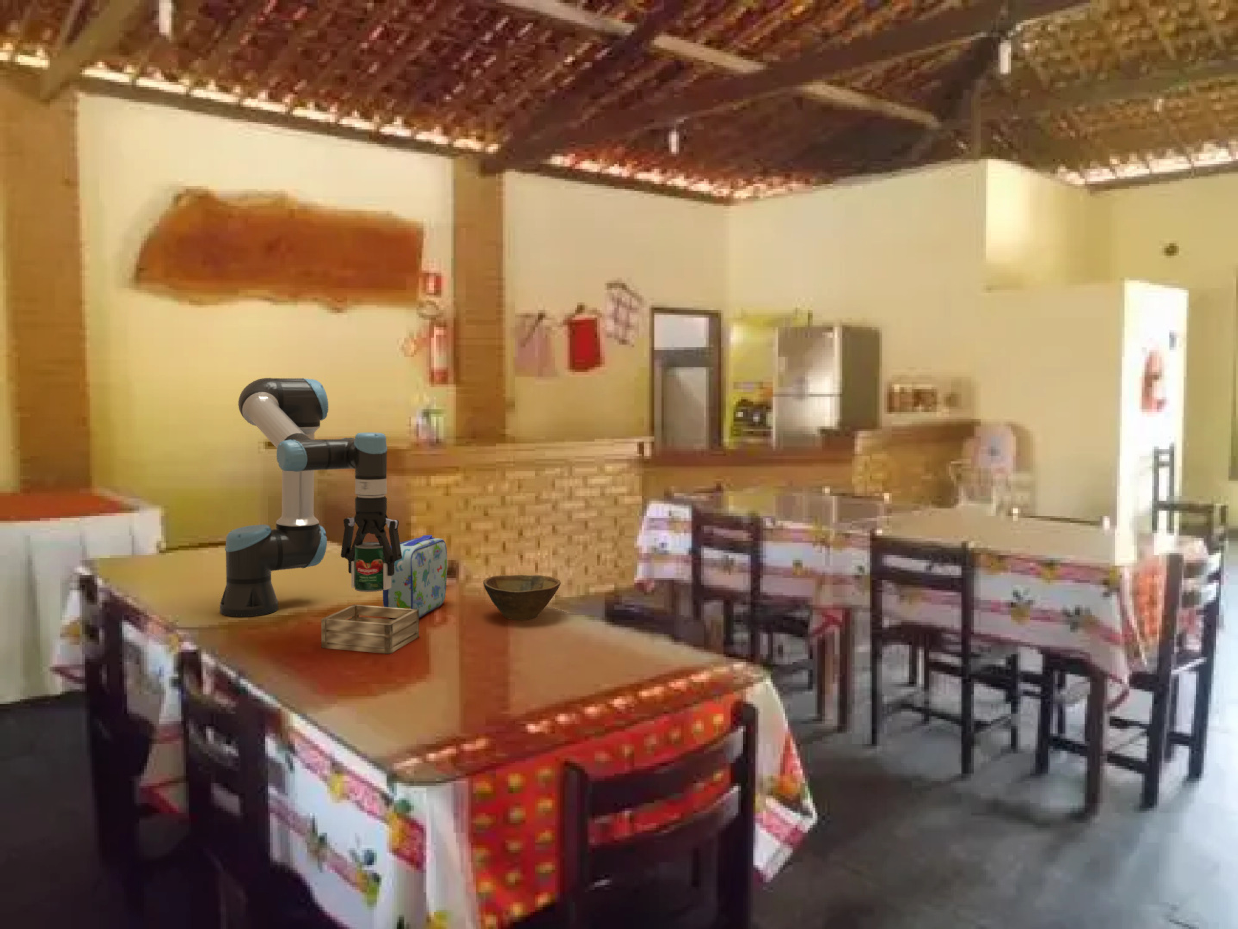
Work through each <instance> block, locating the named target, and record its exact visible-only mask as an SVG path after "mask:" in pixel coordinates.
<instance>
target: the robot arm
mask: <svg viewBox="0 0 1238 929" xmlns="http://www.w3.org/2000/svg"><path fill="white" fill-rule="evenodd" d="M328 400H329V399H328V395H327V392H326V390H325V388H324V386H323V384H322V383H321V382H320V381H318V380H317V379H313V378H304V377H302V378H301V377H300V378H299V377H297V378H296V377H295V378H292V377H291V378H285V377H283V378H282V377H281V378H279V377H278V378H277V377H264V378H258V379H255V380H253V381H252V382H250V383H248V384H247V385H246V386H245V387H244V388H243V389H242V391H241V393H240V395H239V397H238V401H237V402H238V403H237V405H238V410H239V413H240V415H241V416H242V418H243V419H244V420H245V421H246V422H247V423H248V424H250V425H252V426H255V427H257V429H259V431H260V432H261V433H262V434H263V435H264V436H265V437H266V438H267V439H268V441H270V443H271V444H272V445H273V446H274V447H275V448H276V461H277V463H278V466H279V469H280V470H281V516H280V518H278V519H277V520H276V521H275V524H276V525H275V528H274V529H272V528H271V525H268V524H253V525H247V526H242V527H237V528H235V529H232V530H231V531H230V532H228V533H227V535H226V539H225V547H224V550H225V570H226V572H225V576H226V578H225V579H226V581H225V583H226V584H225V587H224V591H223V593H222V597H221V600H220V603H219V613H220V614H221V615H224V616H227V617H240V618H241V617H242V618H244V617H259V616H263V615H268V614H271V613H275V612H276V611H278V610H279V600H278V597H277V595H276V591H275V589H274V586H273V583H272V572H275V571H283V570H293V569H306V568H309V567H316V566H317V565H319V564H320V563H321V562H322V561H323V559H324V557H325V555H326V551H327V547H328V537H327V536H326V535H327V532H326V530H325V527H323V526H322V525H320V521H319V519H318V518H317V517H315V514H314V510H315V507H314V506H315V504H314V503H315V501H314V499H315V494H314V493H315V471H324V470H325V471H327V470H328V471H329V470H347V469H349V470H354V487H355V488H354V492H355V493H354V494H355V495H356V496H355V498H354V502H355V503H354V510H355V515H354V517H346V518H344V519H343V526H344V527H343V528H344V530H343V538H342V543H341V544H342V545H341V550H340V557H341V558H342V559H343V558H344V559H346V560H347V562H348V566H347V568H348V573H349V574H351V581H350V582H351V588H353V589H355V545H356V546H358V545H361V544H362V543H364V540H365V538H366V536H367V534H371V535H374V537H375V538H376V539H377V542H379V544H380V546H383V554H384V557H385V559H386V562H385V563H383V590H387V589H389V588H391V576H392V575H394V563H395V561H397V560H400V559H402V553H401V547H400V543H401V542H400V536H399V529H398V528H399V525H400V521H399V520H398V519H390V518H388V515H387V510H388V501H387V500H388V497H387V496H386V495H387V494H388V488H387V487H388V482H387V479H388V478H387V474H388V473H387V472H388V470H387V469H388V467H387V466H388V464H387V463H388V462H387V460H388V458H387V457H388V446H387V444H388V443H387V436H386V434H384V433H382V432H358V433H356V434H355V436H354V437H344V438H335V439H334V438H333V439H332V438H331V439H315V432H317V431H318V430H319V428H321V421H323V420H325V419H326V418H327V417H328V413H329V401H328ZM355 525H357V527H358V528H357V531H356V533H355V538H354V541H353V536H354V531H355V528H354V527H355ZM386 525H387V528H388V536H389V539H388V536H387V532H386V529H385V527H386ZM390 546H391V547H390ZM383 590H382V591H383Z"/></svg>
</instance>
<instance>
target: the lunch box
mask: <svg viewBox="0 0 1238 929" xmlns="http://www.w3.org/2000/svg"><path fill="white" fill-rule="evenodd" d="M390 547H391V545H390ZM400 547H401V553H402V559H400V560H397V561H395V563H394V575H392V576H391V588H389V589H387V590H382V604H383V607H392V608H404V609H417V610H419V619H420V618H421V617H423V616H425V615H427V614H428V613H430V612H432V611H434V610H435V609H436V608H439V607H441V606H442V605H443V603H444V602H445V600H446V593H447V581H448V580H447V576H448V549H447V544H446V542H445V540H444V539H443V538H438V537H437V538H435V537H433V535H432V534H429V535H428V534H427V535H425V534H424V535H422V536H420V537H415V538H413V539H409V540H405V541H402V542H400Z"/></svg>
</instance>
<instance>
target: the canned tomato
mask: <svg viewBox="0 0 1238 929" xmlns="http://www.w3.org/2000/svg"><path fill="white" fill-rule="evenodd" d="M385 562H386V559H385V557H384V554H383V546H380V544H379V541H366V542H364V541H363V543H362V544H361V545H358V546H356V545H355V588H354V590H355V591H356V592H363V593H373V592H375V593H376V592H383V563H385Z"/></svg>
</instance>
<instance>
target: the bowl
mask: <svg viewBox="0 0 1238 929" xmlns="http://www.w3.org/2000/svg"><path fill="white" fill-rule="evenodd" d="M482 582H483V587H484V589H485V591H486V592H487V595H488V596H489V598H490V600H491V601H492V603H493V604H494V606H495V607H496V608H497V609H498V611H499V612H500V613H501V614H502V616H503V617H504V618H506V619H509V620H515V621H525V620H532V619H535V618H537V617H538V616H539V614H541V612H542V611H543V610H544V609H545V608H546V607H547V605H548V604H549V603H550V601H551V600H552V599H553V598H554V597H555V595H556V593H557V592H558V590H559V588H560V586H561V581H560V579H559V578H556V577H555V576H554V577H553V576H550V575H549V576H548V575H539V574H536V575H535V574H534V575H533V574H532V575H529V574H527V575H526V574H512V575H511V574H510V575H508V574H502V575H501V574H500V575H492V576H490V577H487V578H485V579H484V580H483V581H482Z"/></svg>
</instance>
